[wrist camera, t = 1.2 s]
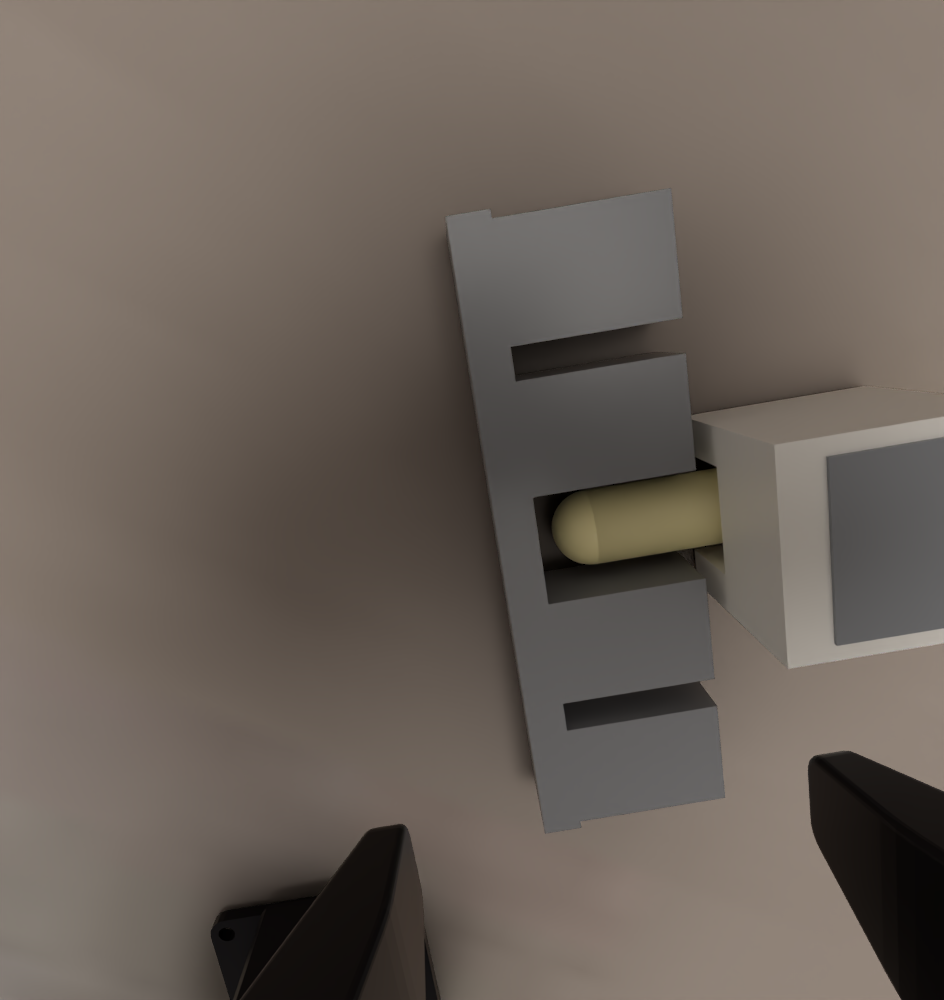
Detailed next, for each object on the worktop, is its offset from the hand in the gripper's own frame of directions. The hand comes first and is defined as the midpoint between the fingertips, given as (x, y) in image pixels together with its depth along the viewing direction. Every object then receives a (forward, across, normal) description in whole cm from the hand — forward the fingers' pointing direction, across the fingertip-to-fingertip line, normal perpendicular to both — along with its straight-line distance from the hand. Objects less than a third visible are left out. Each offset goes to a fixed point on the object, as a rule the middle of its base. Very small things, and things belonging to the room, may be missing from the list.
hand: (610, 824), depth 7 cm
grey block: (+12, -8, 0) cm, 14 cm away
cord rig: (+12, -11, 0) cm, 16 cm away
